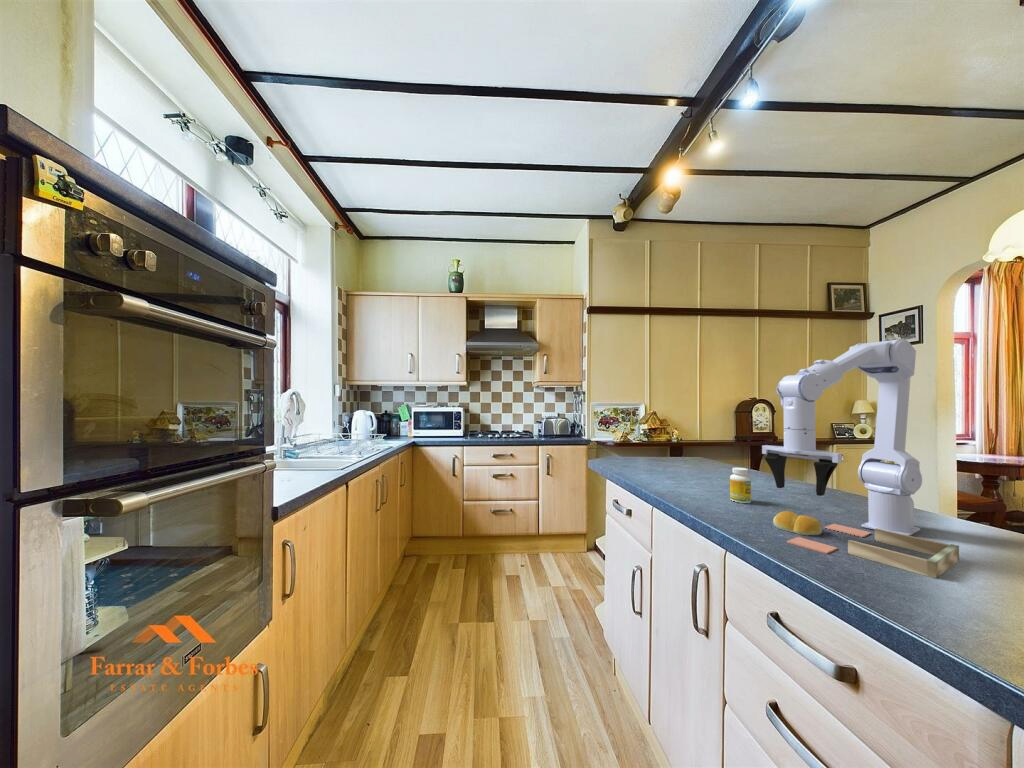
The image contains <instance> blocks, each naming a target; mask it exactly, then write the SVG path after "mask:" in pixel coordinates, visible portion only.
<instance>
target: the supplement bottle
mask: <svg viewBox="0 0 1024 768" xmlns="http://www.w3.org/2000/svg"><path fill="white" fill-rule="evenodd" d="M748 474H749V469H748V468H745V467H732V474H731V475H730V476H729V500H730V501H731V500H732V501H731V502H733V501H735V502H740V503H739V504H742V503H748V504H751V503H752V479H751V476H749V475H748ZM735 502H734V503H735Z"/></svg>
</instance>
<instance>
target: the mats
mask: <svg viewBox="0 0 1024 768" xmlns="http://www.w3.org/2000/svg"><path fill="white" fill-rule="evenodd" d="M825 528H827V530H829V529H831V530H830V531H833V530H835V531H834V532H837V531H839V532H838V533H841V532H843V533H842V534H845V533H847V534H846V535H850V534H851V535H850V536H854V535H855V536H854V537H858V536H859V538H862V537H864V538H866V537H867V535H868V536H870V535H872V534H871V533H872V532H870V531H866V530H862V529H858V528H854V527H849V526H845V525H843V524H837V523H832V524H829V525H826V526H824V529H825ZM869 534H870V535H869ZM865 536H866V537H865ZM786 543H788V544H791V545H794V546H797V547H801V548H805V549H807V550H811V551H815V552H818V553H821V554H825V555H828V554H831V553H832V552H834V551H837V550H838V547H836V546H833V545H829V544H825V543H821V542H819V541H815V540H810V539H807V538H804V537H800V536H797V537H795V538H792V539H789V540H786Z"/></svg>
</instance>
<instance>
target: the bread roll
mask: <svg viewBox="0 0 1024 768" xmlns="http://www.w3.org/2000/svg"><path fill="white" fill-rule="evenodd" d="M772 520H773V526H774V527H775V526H776V527H775V528H777V529H779V530H781V529H782V530H781V531H784V530H785V532H788V531H789V532H790V533H794V534H796V533H797V534H796V535H800V534H801V536H808V535H812V536H819V535H821V534H822V533H823V526H822V524H821V522H820V521H819V520H818V519H817V518H815V517H812V516H809V515H803V514H802V515H798V514H797V513H795V512H793V511H789V510H783V511H780V512H778V513H777V514H776V515H775V516H774V517H773V519H772ZM789 532H788V533H789Z"/></svg>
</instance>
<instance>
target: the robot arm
mask: <svg viewBox="0 0 1024 768" xmlns="http://www.w3.org/2000/svg"><path fill="white" fill-rule="evenodd" d="M916 356H917V350H916V349H915V348H914V346H913V345H912V344H911V342H910V341H908V339H906V338H897V339H892V340H885V341H875V342H866V343H864V342H859V343H857V344H855V345H852V346H850V347H849V348H848V350H846V351H845V352H844V353H842V354H841V355H839V356H837V357H835V359H832V360H831V359H830V360H828V359H817V360H814V362H813V364H812V365H811V366H809V367H807V368H802V369H800V370H798V372H797V373H795V374H794V375H793V374H792V375H791V374H790V375H785V376H784V377H782V379H780V381H779V382H778V384H777V386H776V393H777V396H778V398H779V399H780V406H781V407H782V408H783V410H782V412H783V446H782V445H781V446H779V445H770V444H769V445H768V444H765V445H761V454H762V455H766V456H764V460H765V462H766V463H767V465H768V466H769V469H770V471H771V473H772V475H773V478H774V482H775V485H776V488H777V489H783V488H785V484H786V483H785V482H786V480H785V478H786V477H785V469H786V462H787V457H788V458H789V457H790V458H795V459H797V458H798V459H806V460H815V461H813V466H814V471H815V479H816V483H815V492H816V496H820V497H823V496H825V494H826V490H827V486H828V483H829V481H830V478H831V477H832V474H833V473H834V471H835V470H836V468H837V467H838V464H841V463H843V453H842V452H834V451H828V450H821V449H816V448H817V447H816V446H817V443H816V441H817V439H816V436H817V435H816V433H817V432H816V426H817V425H816V400H820V398H821V397H822V395H823V392H824V391H825V390H826V389H828V388H830V387H832V386H834V385H836V384H838V383H839V382H841V380H842V379H843V376H844V374H845V373H847V372H849V371H851V370H854V369H858V370H859V371H860V372H862V373H863V374H865V375H866V376H868V377H870V378H873V379H874V380H876V381H877V383H878V384H879V385H878V395H877V396H878V397H877V408H876V422H875V433H874V445H873V446H874V447H873V448H871V449H869V450H867V451H866V452H864V453H863V454H862V457H861V462H860V464H859V466H858V468H857V476H858V479H859V481H860V482H861V483H862V484H863V485H864V488H866V489H867V495H868V496H867V497H868V498H867V499H868V500H867V502H868V504H867V505H868V506H867V507H868V512H867V514H868V521H866V522H865V523H863V524H860V525H861V528H866V529H869V530H874V531H875V529H876V528H878V529H882V530H886V531H891V532H895V533H900V534H904V535H909V536H912V535H914V534H916V533H917V532H919V531H921V528H920V527H917V526H915V503H914V500H913V497H911V495H915V494H916V493H917V492H918V490H920V489H921V487H922V484H923V475H922V473H921V470H920V466H921V464H920V461H919V460H918V459H916V458H915V457H914V456H912V455H911V454H910V453H909V452H907V451H906V444H907V443H906V442H907V428H908V427H907V426H908V416H909V406H910V405H909V402H910V400H909V399H910V391H911V390H910V389H911V378H912V377H913V376H914V375H915V369H916ZM884 461H885V462H884ZM886 461H890V462H886ZM892 462H894V463H892Z"/></svg>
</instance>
